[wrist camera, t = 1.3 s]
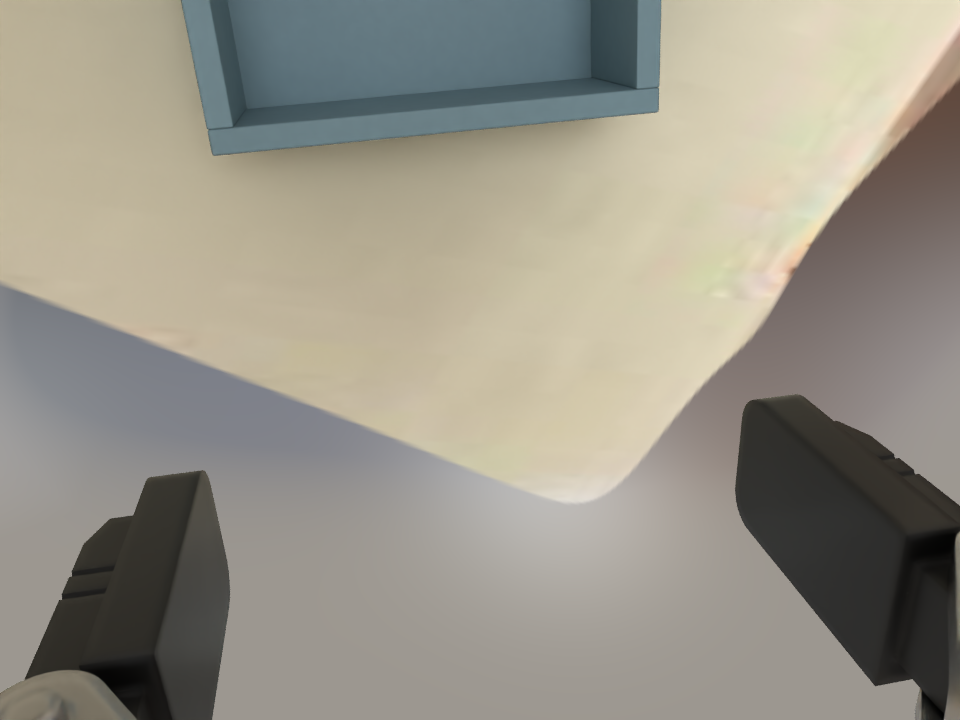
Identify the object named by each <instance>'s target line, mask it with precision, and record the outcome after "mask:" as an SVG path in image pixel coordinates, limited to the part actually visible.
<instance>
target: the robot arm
mask: <svg viewBox="0 0 960 720" xmlns="http://www.w3.org/2000/svg"><path fill="white" fill-rule="evenodd" d="M735 492H736V502H737V507H738V510H739V513H740V516H741V518H742V521H743V523H744V524H745V526H746V528H747V529H748V530H749V531H750V533H751V534H752V535H753V536H754V538H755V539H756V540H757V541H758V542H759V544H760V545H761V546H762V547H763V549H764V550H765V551H766V552H767V554H768V555H769V556H770V557H771V558H772V560H773V561H774V562H775V563H776V564H777V566H778V567H779V568H780V570H781V571H782V572H783V573H784V575H785V576H786V577H787V578H788V579H789V581H791V583H792V584H793V586H794V587H795V588H796V589H797V591H798V592H799V593H800V594H801V595H802V597H803V598H804V599H805V600H806V602H807V603H808V604H809V605H810V606H811V608H812V609H813V610H814V611H815V613H816V614H817V615H818V616H819V618H820V619H821V620H822V621H823V623H824V624H825V625H826V626H827V627H828V629H829V630H830V631H831V632H832V634H833V635H834V636H835V637H836V638H837V640H838V641H839V642H840V643H841V645H842V646H843V647H844V648H845V650H846V651H847V652H848V653H849V654H850V656H851V657H852V658H853V659H854V661H855V662H856V663H857V664H858V666H859V667H860V668H861V669H862V671H863V672H864V673H865V674H866V675H867V677H868V678H869V679H870V680H871V682H872V683H873V684H874V685H875V686H878V685H883V684H888V683H893V682H899V681H905V680H910V679H913V680H914V681H915V682H916V684H917V685H918V686H919V687H920V690H919V694H918V699H917V703H916V708H915V720H960V506H959V505H958V504H957V503H955V502H954V501H953V500H952V499H950V498H949V497H948V496H946V495H945V494H944V493H943V492H941V491H940V490H939V489H937V488H936V487H935V486H934V485H932V484H931V483H930V482H929V481H927V480H926V479H925V478H924V477H922V476H921V475H920V474H915V473H914V470H913V469H912V468H911V467H910V466H908V465H907V464H906V463H905V462H903V461H902V460H901V459H900V458H896V459H895V457H894V454H893V453H892V452H891V451H889V450H888V449H887V448H886V447H884V446H883V445H882V444H880V443H879V442H878V441H877V440H875V439H874V438H873V437H872V436H870V435H868V434H866V433H863V432H861V431H859V430H857V429H854V428H852V427H850V426H847V425H845V424H843V423H841V422H838V421H833V420H832V419H830V418H829V417H828V416H827V415H826V414H824V413H823V412H822V411H821V410H820V409H818V408H817V407H816V406H815V405H813V404H812V403H811V402H810V401H808V400H807V399H806V398H805V397H803V396H801V395H797V394H795V395H788V396H780V397H772V398H764V399H757V400H752V401H749V402H748V403H747V404H746V406H745V408H744V411H743V417H742V425H741V436H740V446H739V456H738V466H737V476H736V487H735ZM229 601H230V585H229V571H228V565H227V559H226V554H225V549H224V545H223V540H222V535H221V531H220V526H219V521H218V517H217V512H216V508H215V503H214V498H213V494H212V490H211V485H210V481H209V478H208V476H207V474H206V472H205V471H203V470H202V471H194V472H188V473H179V474H171V475H165V476H156V477H150V478H148V479H147V481H146V483H145V485H144V488H143V491H142V493H141V496H140V499H139V502H138V504H137V507H136V510H135V513H134V515H133V516H126V517H120V518H112V519H110V520H108V521H107V522H106V523H105V524H104V525H103V526H102V527H101V528H100V529H99V530H98V531H97V532H96V533H95V534H94V535H93V536H92V537H91V538H90V539H89V540H88V541H87V542H86V543H84V545H83V547H82V549H81V552H80V554H79V556H78V558H77V561H76V563H75V565H74V568H73V570H72V577H69V579H68V581H67V584H66V586H65V588H64V590H63V593H62V600H59V602H58V604H57V606H56V609H55V611H54V613H53V616H52V618H51V620H50V622H49V625H48V627H47V630H46V632H45V634H44V636H43V639H42V641H41V643H40V646H39V648H38V650H37V652H36V654H35V657H34V659H33V661H32V664H31V666H30V668H29V671H28V673H27V675H26V677H25V680H24V681H21V682H19V683H17V684H15V685H13V686H11V687H10V688H7V689H6V690H4V691H3V692H1V693H0V720H212V716H213V709H214V702H215V696H216V690H217V682H218V676H219V670H220V663H221V657H222V650H223V643H224V636H225V630H226V623H227V617H228V610H229Z"/></svg>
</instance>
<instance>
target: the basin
mask: <svg viewBox="0 0 960 720" xmlns="http://www.w3.org/2000/svg"><path fill="white" fill-rule="evenodd" d="M181 3H182V8H183V13H184V18H185V23H186V27H187V32H188V37H189V42H190V47H191V52H192V57H193V62H194V67H195V72H196V77H197V82H198V87H199V92H200V97H201V102H202V107H203V112H204V117H205V121H206V126H207V129H209V130H208V136H209V141H210V146H211V151H212V154H213V155H214V156H217V155H227V154H237V153H248V152H258V151H268V150H278V149H288V148H299V147H309V146H319V145H329V144H339V143H350V142H360V141H370V140H380V139H390V138H400V137H411V136H421V135H431V134H441V133H451V132H462V131H472V130H482V129H492V128H502V127H513V126H523V125H533V124H543V123H553V122H563V121H574V120H584V119H594V118H604V117H614V116H625V115H635V114H645V113H655V112H658V110H659V88H657V87H659V75H660V29H661V0H181Z"/></svg>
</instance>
